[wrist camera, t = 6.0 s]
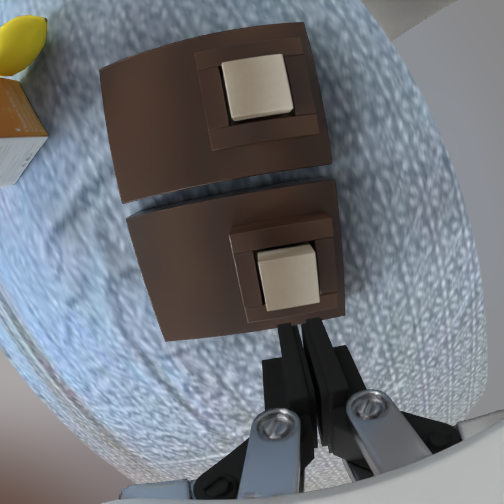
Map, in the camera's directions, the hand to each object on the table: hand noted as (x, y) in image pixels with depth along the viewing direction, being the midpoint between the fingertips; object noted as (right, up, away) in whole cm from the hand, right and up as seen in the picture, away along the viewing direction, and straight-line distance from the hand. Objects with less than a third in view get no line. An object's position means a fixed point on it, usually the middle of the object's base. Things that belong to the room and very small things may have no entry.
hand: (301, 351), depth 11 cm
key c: (-2, +13, +4) cm, 14 cm away
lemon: (-21, +22, +5) cm, 31 cm away
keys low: (-5, +14, +7) cm, 16 cm away
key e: (0, +3, +7) cm, 8 cm away
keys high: (-3, +3, +11) cm, 12 cm away
